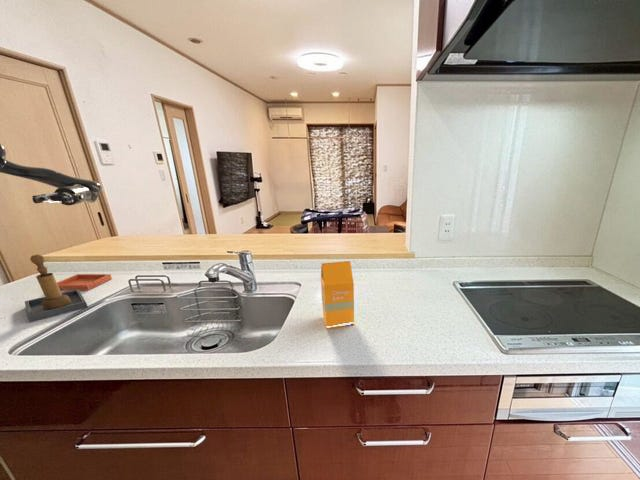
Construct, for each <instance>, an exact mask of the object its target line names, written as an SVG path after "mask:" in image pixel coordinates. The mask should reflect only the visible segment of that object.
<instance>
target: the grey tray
mask: <svg viewBox="0 0 640 480" xmlns="http://www.w3.org/2000/svg"><path fill="white" fill-rule="evenodd" d="M61 294H64V295H67V296H69V299H70V301H71V303H69V304H68V305H65V306H63V307H59V308H55V309H44V308H43V305H42V303H41V302H42V301H43V300H44V299H45V296H41V297H37V298H33V299H29V300H24V305H25V311H26V312H25V313H26V317H27V319H28V321H29V323H33V322H37V321H40V320H44V319H49V318H52V317H56V316H60V315H63V314H67V313H71V312H74V311H78V310H82V309H86V308H89V306H88V304H87V301H86V299H85V298H84V296H83V294H82V292H81V290H79V289H76V290H67V291H64V292H61Z"/></svg>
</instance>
